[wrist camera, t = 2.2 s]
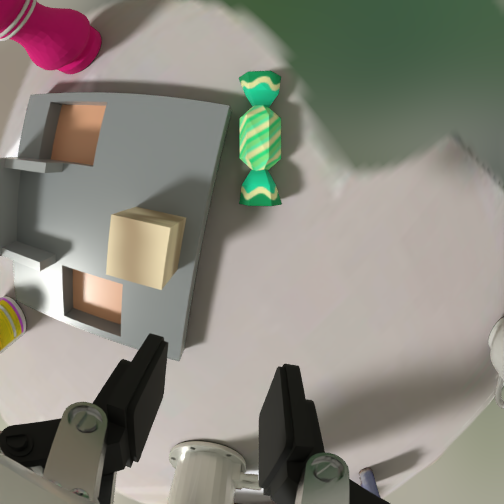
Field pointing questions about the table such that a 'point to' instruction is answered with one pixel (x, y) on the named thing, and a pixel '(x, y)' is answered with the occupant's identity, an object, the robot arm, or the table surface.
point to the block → (144, 246)
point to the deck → (107, 205)
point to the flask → (368, 481)
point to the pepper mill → (50, 34)
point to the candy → (260, 138)
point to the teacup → (498, 357)
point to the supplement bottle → (10, 322)
